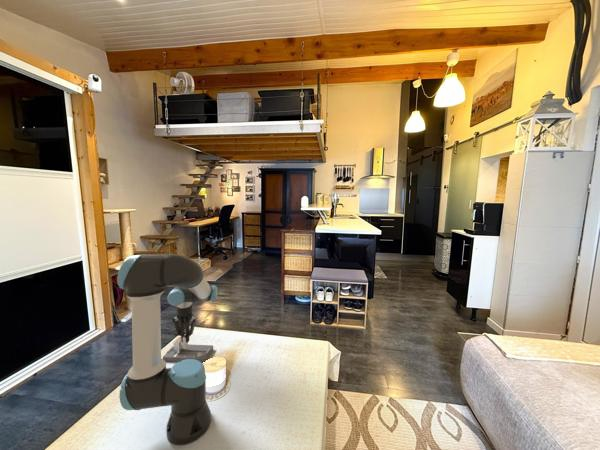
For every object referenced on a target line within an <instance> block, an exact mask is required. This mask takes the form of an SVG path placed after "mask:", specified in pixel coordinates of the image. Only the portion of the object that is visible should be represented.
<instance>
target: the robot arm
mask: <svg viewBox="0 0 600 450" xmlns="http://www.w3.org/2000/svg"><path fill="white" fill-rule="evenodd" d="M204 274H205V273H204V270H203V268H202V267H201V265H200V264H199V263H198V262H196V261H194V260H193V259H191V258H189V257H187V256H185V255H182V254H176V253H170V254H169V253H168V254H166V253H164V254H163V253H162V254H160V253H159V254H157V253H156V254H153V253H152V254H151V253H150V254H145V253H144V254H136V255H134V254H133V255H129V256H128V257H127V258H125V260H124V261H123V262H122V264H121V265H120V267H119V270H118V272H117V282H116V283H117V286H118V288H119V289H121V290H124V291H125V296H126V297H127V298H129V299H130V301H131V327H132V328H131V330H132V332H131V333H132V337H131V338H132V340H131V341H132V343H131V344H132V366H131V367H130V369H128V371H127V373H126V375H125V376H124V378H123V379H122V381H121V384H120V389H119V395H118V396H119V401H120V405H121V407H122V408H123V409H124V410H125V411H140V410H143V409H144V410H146V409H153V408H154V409H155V408H160V407H171V409H170V411H171V412H170V413H169V417H168V421H167V424H166V428H165V430H166V434H165V435H166V439H167V440H168V441H169V443H171V444H172V445H173V444H174V445H178V446H181V445H183V446H184V445H188V444H191V443H193V442H195V441H197V440H198V439H200V438H201V437H202V436H204V434H205V433H206V432H207V431H208V429H209V428H210V425H211V423H212V413H211V409H210V407H209V404H208V402H207V400H206V399H207V397H206V396H207V395H206V394H207V393H206V391H207V390H206V388H207V387H206V385H207V384H206V379H207V375H206V367H205V365H204V363H201V362H200V361H198V360H194V359H186V360H182V361H181V362H175V363H174V364H173V365H172V366H171V367H169V368H168V367H167V362H165V360H163V358H162V331H161V330H162V328H161V322H162V319H161V317H162V316H161V296H162V295H163V293H165V292H166V288H172V287H174V288H173V289H172V290H170V292H169V293H168V295H167V298H166V299H167V303H168V304H169V305H170V306H174V307H176V316H174V317H173V318H172V322H173V323H174V324H173V325H174V328H175V331H176V334H177V336H178V337H181V342H183V349H186V348H187V347H188V344H189V342H190V337H191V336H192V335H193V334H194V329H195V326H196V321H198V317H197V316H196V317H195V316H194V314H193V303H199V302H201V303H202V302H214V301H216V300H218V299H217V298H218V286H217V285H210V284H209V282H208V281H207V279H206V277H205V275H204Z"/></svg>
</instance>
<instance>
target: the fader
mask: <svg viewBox="0 0 600 450" xmlns="http://www.w3.org/2000/svg"><path fill="white" fill-rule="evenodd" d="M173 346H174V353H180V352H181V351H182V349H183V342H181V336H178V337H177V338H176V339H175V340H174V341H173Z"/></svg>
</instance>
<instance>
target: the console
mask: <svg viewBox="0 0 600 450" xmlns="http://www.w3.org/2000/svg"><path fill="white" fill-rule="evenodd" d="M213 351H214V344H213V345H212V344H211V345H209V344H189V343H188V347H187V348H186V349H182V351H181V352H180V353H174V345H173V346H171V347H170V348H169V349H168V350H167V351H166V353H165V354H164V355H163V356H162V359H163V360H165V362H166V363H167V362H168V363H170V362H171V363H177V362H181V361H182V360H186V359H194V360H198V361H200V362H201V363H202V364H204V363H203V362H204V361H205V360H206V361H207V359H208V358H209V357H210V355H211V353H213ZM206 361H205V362H206Z"/></svg>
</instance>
